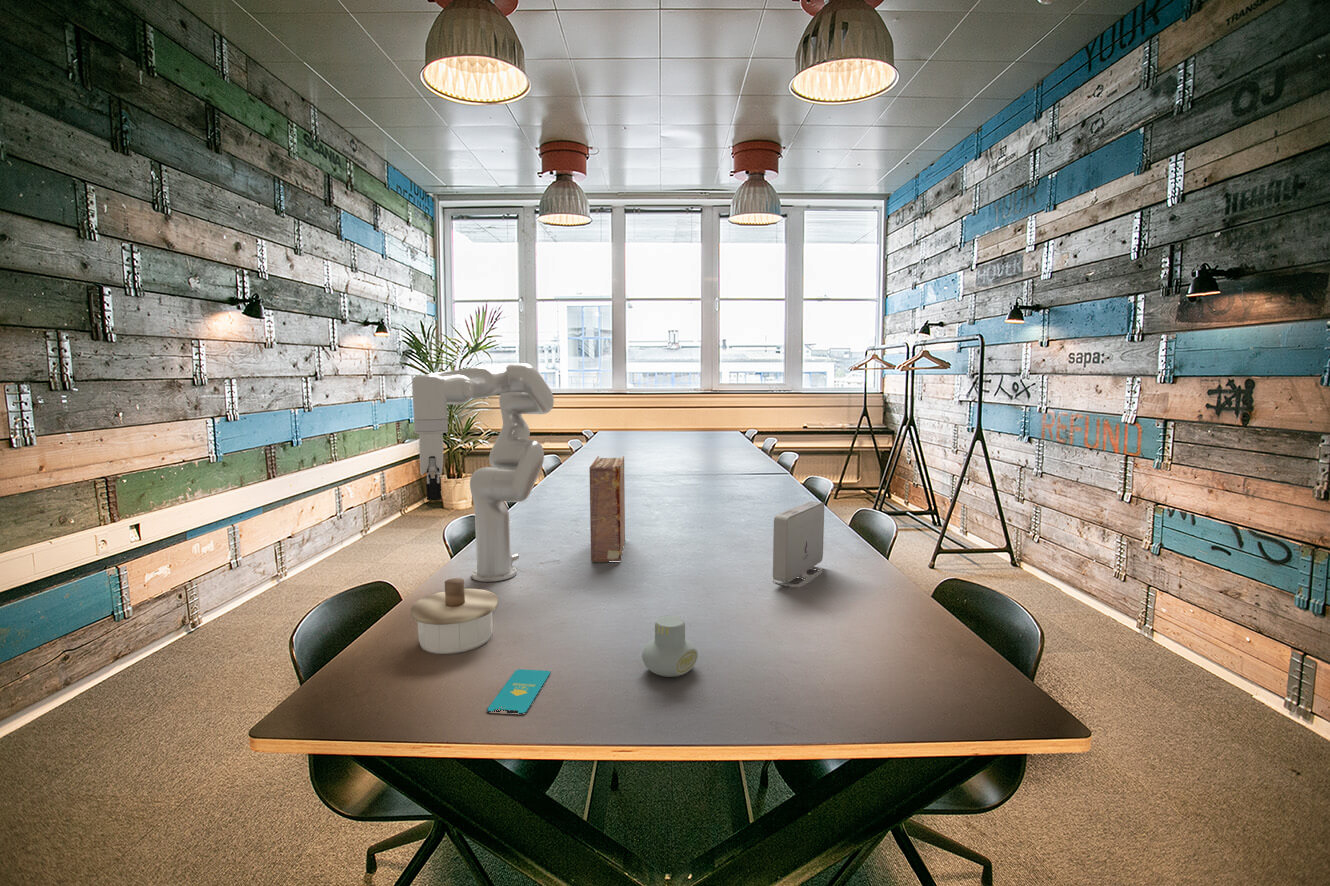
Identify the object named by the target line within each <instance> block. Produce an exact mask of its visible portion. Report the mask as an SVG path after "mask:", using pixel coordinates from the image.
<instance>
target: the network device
mask: <svg viewBox="0 0 1330 886" xmlns="http://www.w3.org/2000/svg"><path fill="white" fill-rule="evenodd" d="M824 529H825V503H824V502H822V501H816V500H815V501H814V500H810V501H807V502H805V503H803V504H802V503H801V504H800V505H797V506H795V507H792V508H790V509H788V510H785V511H783V512H780V513H778V514H775V516H774V518H773V544H772V545H773V547H772V582H773V583H774V582H775V583H777V584H776V585H778V584H781V585H780V586H782V585H785V586H784V587H787V586H790V587H789V588H793V587H798V588H801V587H800V586H802V587H804V586H805V585H806V583H807V582H808V583H810V582H811V581H812V580H811V579H813V578H814V579H815V577H816V576H817V575H819V574H820V573H823V569H822V568H820V567H817V566H816V565H819V564H820V563H821V562H822V561H823V558H824V538H825V537H824ZM810 568H812V569H816V570H819V571H816V570H815V573H813V574H808V573H807V572H808V571H809V570H812V569H810ZM820 575H821V574H820ZM820 575H819V576H820ZM796 577H799V578H803V579H805V580H803V579H802V581H800V582H799V583H797V584H796V583H792V582H791V581H793V580H795V579H797V578H796ZM817 577H818V576H817ZM817 577H816V578H817ZM799 578H798V579H799ZM814 579H813V580H814ZM810 580H811V581H810ZM809 581H810V582H809ZM790 582H791V583H790ZM775 583H774V584H775ZM808 583H807V584H808ZM804 584H805V585H804ZM803 585H804V586H803Z"/></svg>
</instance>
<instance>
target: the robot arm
mask: <svg viewBox="0 0 1330 886" xmlns="http://www.w3.org/2000/svg"><path fill="white" fill-rule="evenodd" d="M411 384H412V385H411V387H412V388H411V389H412V406H413V407H412V409H413V426H414V427H413V428H414V434H419V435H418V436H419V437H418V439H419V441H418V445H419V446H418V447H419V448H418V450H419V469H420V471H419V472H420V475H421V476H424V474H426V484H425V487H426V500H427V501H430V502H431V501H440V500H442V479H441V478H442V476H440V474H442V473H443V468H444V467H443V465H444V437H443V436H444V435H443V434H444V433H448V432H449V431H448V430H449V428H448V405H461V404H462V405H463V404H465V403H468V402H469V401H470V400H471V399H472V400H473V399H475V400H476V399H484V398H485V399H486V398H488V397H493V396H497V395H499V400H498V401H499V408H500V414H501V418H502V427H501V430H500V432H499V434H498V435H497V438H496V440H495V442H494V444H493V446H492V448H491V450H490V453H489V456H488V462H489V464H490V466H485V467H481V468H477V469H476V470H475V471H473V472H472V474H471V476H470V479H469V480H470V481H469V489H470V494H471V497H472V502H473V508H474V520H475V521H474V526H475V551H476V569H474V570H473V571H472V572H471V578H472V579H473V580H475V581H477V582H484V583H487V582H488V583H489V582H491V583H493V582H501V581H505V580H508V579H510V578H511V579H512V578H513V577H515V576H516V575H517V571H518V570H517V568H516V567H515V566H514V565H513V563H514V562H515V561H518V560H519V558H520V557H519V554H518V553H513V554H512V551H511V526H510V525H511V524H510V523H511V522H510V521H511V520H510V519H511V517H510V512H509V510H508V509H509V508H508V507H507V505H506V503H505V502H510V503H521V502H525V501H526V500H527V499H528V498H529V496H530V495H531V493H532V491H533V489H534V487H535V484H536V482H537V479H538V478H539V476H540V472H541V470H542V467H543V465H544V460H545V459H544V458H545V451H544V448H543V446H542V444H541V443H540V442H539V441H537V440H534V439H529V438H530V434H531V431H530V427H529V425H528V424H527V422H526V420H525V418H524V417H523V415H545V414H548V413H550V412H551V411H552V410H553V408H554V402H555V400H554V399H555V398H554V394H553V392H552V390H551V388H550V387H549V385H548V384H547V383H546V381H545V379H544V378H543V377H542V375H541V374H540V372H539V371H538V370H537V369H536V368H535V367H534V366H533V365H531V364H529V363H521V362H519V363H497V364H491V365H490V364H489V365H486V366H485V365H484V366H477V367H469V368H463V369H462V368H461V369H456V370H448V371H440V372H433V373H426V374H424V375H423V374H422V375H420V374H419V375H415V376H414V377H413V378H412V380H411Z"/></svg>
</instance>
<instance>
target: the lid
mask: <svg viewBox="0 0 1330 886" xmlns="http://www.w3.org/2000/svg"><path fill="white" fill-rule="evenodd" d="M498 605H499V598H498V596H497V594H495V593H494V592H492V591H489V590H485V589H481V588H479V589H478V588H465V579H463V578H461V577H455V578H454V577H453V578H450V579H446V580H445V581H444V591H439V592H436V593H432V594H429V595H426V596H423V597H422V598H420V599H418V600H417V601H415V602H414V603H413V604H412V605H411V607H410V616H411V618H412V620H414V621H416V622H417V623H418V622H421V623H425V624H433V625H447V624H457V623H463V622H467V621H472V620H475V619H478V618H481V617H483V616H485V615H487V614H489V613H491V612H492V613H493V612H494V611H495V610H496V609H497V608H498V607H499V606H498Z"/></svg>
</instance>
